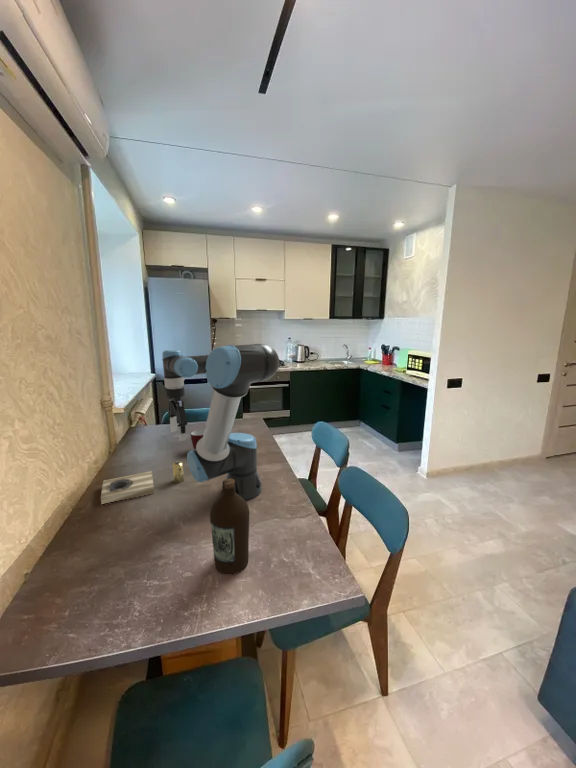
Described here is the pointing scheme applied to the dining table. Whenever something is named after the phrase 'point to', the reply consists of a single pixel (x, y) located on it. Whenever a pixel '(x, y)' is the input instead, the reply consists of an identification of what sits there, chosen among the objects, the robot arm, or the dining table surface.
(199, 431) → the mug
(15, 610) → the dining table surface
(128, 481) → the jig
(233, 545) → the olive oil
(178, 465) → the cylinder with metal cap
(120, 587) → the dining table surface
